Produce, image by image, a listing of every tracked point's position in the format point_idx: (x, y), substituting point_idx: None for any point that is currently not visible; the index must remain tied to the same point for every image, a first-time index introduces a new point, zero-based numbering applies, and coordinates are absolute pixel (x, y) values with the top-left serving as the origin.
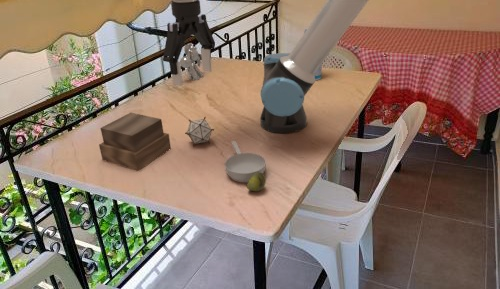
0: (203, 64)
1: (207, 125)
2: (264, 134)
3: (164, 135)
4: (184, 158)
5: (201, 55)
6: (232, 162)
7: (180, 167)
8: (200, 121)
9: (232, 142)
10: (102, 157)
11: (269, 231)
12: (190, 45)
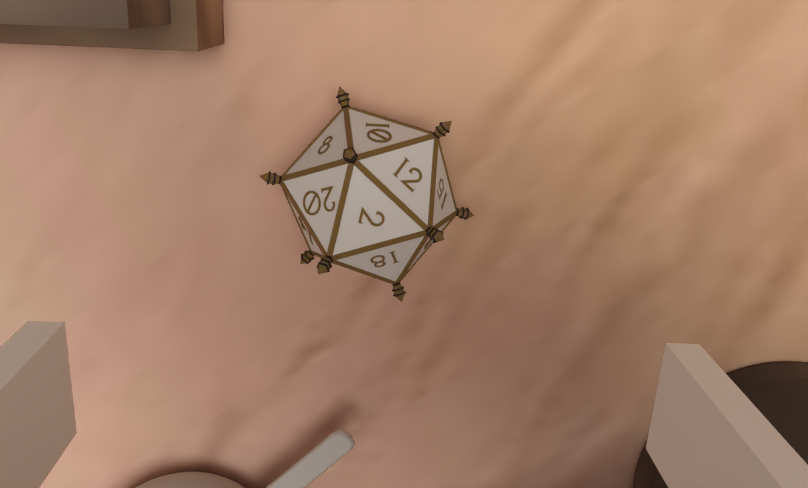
0: (698, 409)
1: (394, 264)
2: (601, 444)
3: (162, 37)
4: (169, 196)
5: (768, 479)
6: (211, 479)
7: (79, 234)
8: (380, 229)
9: (333, 441)
10: None
11: None
12: None
